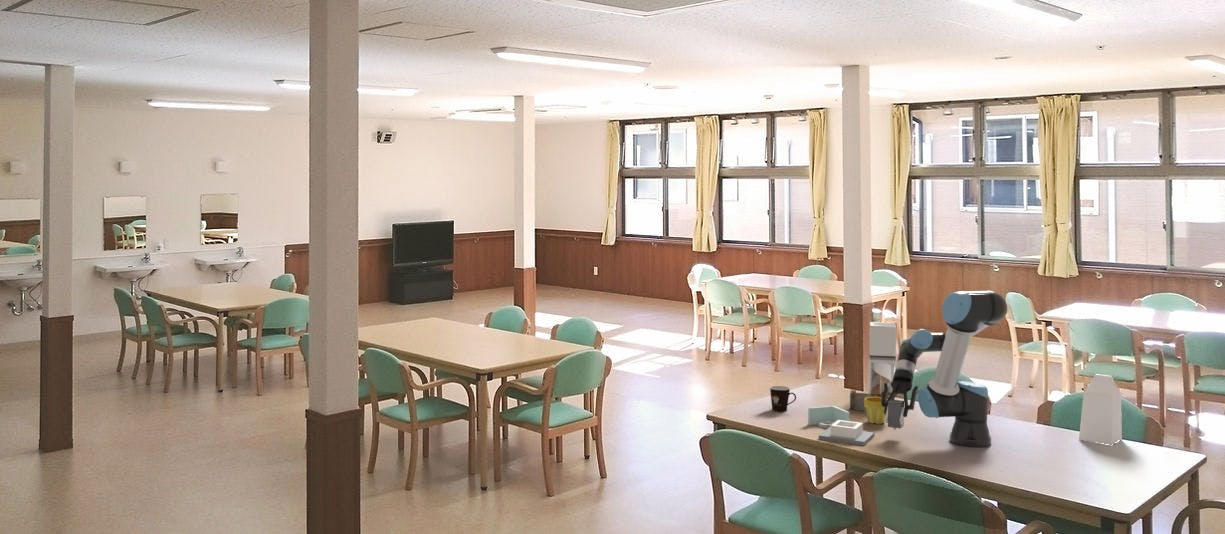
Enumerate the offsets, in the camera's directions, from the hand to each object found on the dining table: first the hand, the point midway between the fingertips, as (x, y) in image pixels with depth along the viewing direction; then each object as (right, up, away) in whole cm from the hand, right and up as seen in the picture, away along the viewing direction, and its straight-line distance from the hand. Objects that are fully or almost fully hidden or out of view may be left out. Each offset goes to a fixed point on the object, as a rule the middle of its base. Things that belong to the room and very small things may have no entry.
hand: (893, 422), depth 372 cm
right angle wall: (-21, -6, +21) cm, 30 cm away
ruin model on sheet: (+1, -3, +50) cm, 50 cm away
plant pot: (+1, -5, +29) cm, 29 cm away
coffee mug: (-35, -3, +48) cm, 59 cm away
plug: (+2, -3, +4) cm, 5 cm away
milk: (+82, -8, +1) cm, 82 cm away
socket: (-17, -7, +4) cm, 19 cm away
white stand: (+15, -1, +71) cm, 73 cm away
